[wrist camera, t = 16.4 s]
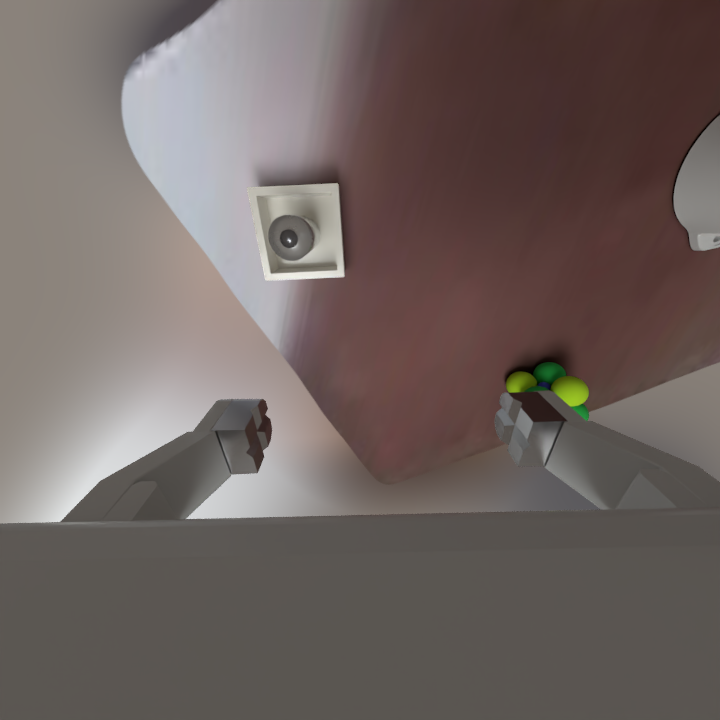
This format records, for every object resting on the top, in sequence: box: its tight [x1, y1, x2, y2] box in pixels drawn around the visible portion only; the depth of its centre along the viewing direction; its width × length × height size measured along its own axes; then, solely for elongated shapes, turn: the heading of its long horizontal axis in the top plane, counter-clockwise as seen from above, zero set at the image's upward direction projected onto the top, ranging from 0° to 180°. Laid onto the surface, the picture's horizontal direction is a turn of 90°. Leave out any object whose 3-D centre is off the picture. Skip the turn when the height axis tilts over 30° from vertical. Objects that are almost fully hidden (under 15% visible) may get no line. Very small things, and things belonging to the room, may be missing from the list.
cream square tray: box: [247, 183, 345, 281], centre depth 33 cm, size 10×10×4 cm
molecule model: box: [506, 362, 589, 421], centre depth 43 cm, size 9×9×9 cm
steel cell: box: [268, 215, 320, 261], centre depth 30 cm, size 4×4×10 cm
